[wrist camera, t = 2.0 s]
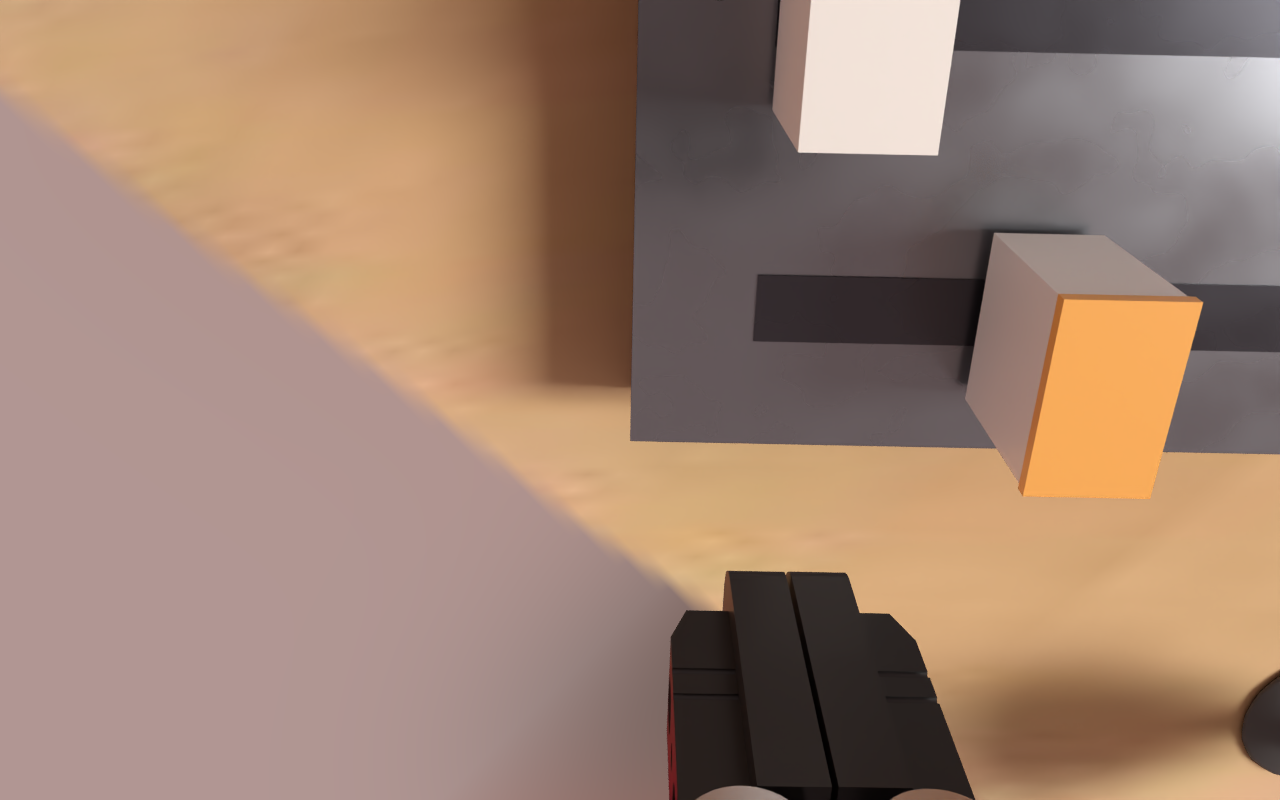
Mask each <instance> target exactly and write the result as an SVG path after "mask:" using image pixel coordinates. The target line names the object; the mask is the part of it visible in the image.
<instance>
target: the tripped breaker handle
mask: <svg viewBox="0 0 1280 800" xmlns="http://www.w3.org/2000/svg"><path fill="white" fill-rule="evenodd" d="M1202 306H1203V302H1202V301H1201V300H1199V299H1198V298H1197V297H1191V296H1187V295H1186V294H1184V293H1183V292H1181V291H1180V290H1179V289H1177V288H1176V287H1175V286H1173V285H1172V284H1171V283H1169V282H1168V281H1166V280H1165V279H1164V278H1162V277H1161V276H1160V275H1158V274H1157V273H1155V272H1154V271H1153V270H1151V269H1150V268H1149V267H1147V266H1146V265H1145V264H1143V263H1142V262H1140V261H1139V260H1138V259H1136V258H1135V257H1134V256H1132V255H1131V254H1129V253H1128V252H1127V251H1125V250H1124V249H1123V248H1121V247H1120V246H1118V245H1117V244H1116V243H1114V242H1113V241H1112V240H1110V239H1109V238H1108V237H1106V236H1105V235H1070V234H1023V233H994V236H993V241H992V247H991V253H990V259H989V264H988V270H987V276H986V282H985V287H984V293H983V299H982V305H981V310H980V316H979V322H978V328H977V333H976V339H975V345H974V351H973V356H972V362H971V368H970V374H969V379H968V385H967V391H966V397H965V400H966V401H967V403H968V404H969V406H970V408H971V409H972V411H973V412H974V414H975V415H976V417H977V419H978V420H979V422H980V423H981V425H982V426H983V428H984V429H985V431H986V433H987V434H988V436H989V437H990V439H991V440H992V442H993V443H994V445H995V447H996V448H997V450H998V451H999V453H1000V454H1001V456H1002V458H1003V459H1004V461H1005V462H1006V464H1007V465H1008V467H1009V468H1010V470H1011V472H1012V473H1013V475H1014V476H1015V478H1016V479H1017V481H1018V483H1019V486H1018V489H1019V491H1020V492H1021V494H1022V496H1036V497H1086V498H1135V499H1150V497H1151V493H1152V489H1153V486H1154V482H1155V478H1156V475H1157V471H1158V467H1159V464H1160V460H1161V456H1162V452H1163V449H1164V445H1165V441H1166V438H1167V434H1168V430H1169V427H1170V423H1171V419H1172V416H1173V412H1174V408H1175V405H1176V401H1177V397H1178V394H1179V390H1180V386H1181V383H1182V379H1183V375H1184V372H1185V368H1186V364H1187V361H1188V357H1189V353H1190V350H1191V346H1192V342H1193V339H1194V335H1195V331H1196V328H1197V324H1198V320H1199V317H1200V313H1201V309H1202Z"/></svg>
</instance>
